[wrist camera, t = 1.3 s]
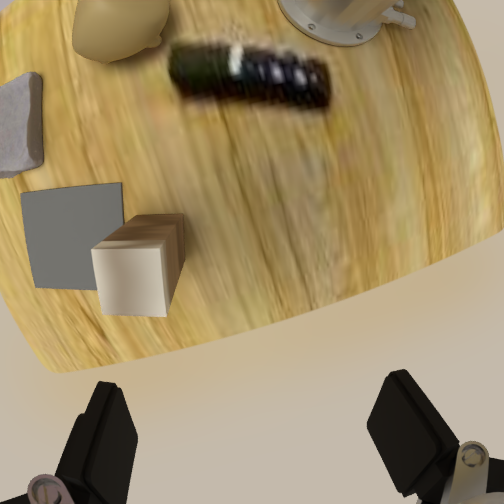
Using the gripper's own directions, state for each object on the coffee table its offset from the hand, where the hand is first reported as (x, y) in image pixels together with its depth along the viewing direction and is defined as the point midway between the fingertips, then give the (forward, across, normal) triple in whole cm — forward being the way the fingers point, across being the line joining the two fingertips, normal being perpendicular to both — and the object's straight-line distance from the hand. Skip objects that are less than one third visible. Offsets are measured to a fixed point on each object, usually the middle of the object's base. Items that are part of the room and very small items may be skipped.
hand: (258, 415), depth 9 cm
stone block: (+24, +27, -14) cm, 39 cm away
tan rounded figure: (+24, +12, -24) cm, 35 cm away
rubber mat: (+23, +19, 0) cm, 30 cm away
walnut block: (+23, +8, 0) cm, 24 cm away
